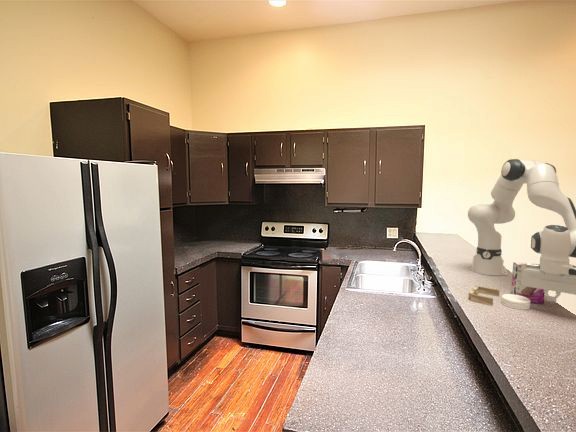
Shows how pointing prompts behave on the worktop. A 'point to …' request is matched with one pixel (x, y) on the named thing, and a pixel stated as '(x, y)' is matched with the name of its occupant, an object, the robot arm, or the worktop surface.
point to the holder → (482, 298)
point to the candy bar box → (529, 292)
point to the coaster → (515, 301)
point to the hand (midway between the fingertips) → (551, 301)
